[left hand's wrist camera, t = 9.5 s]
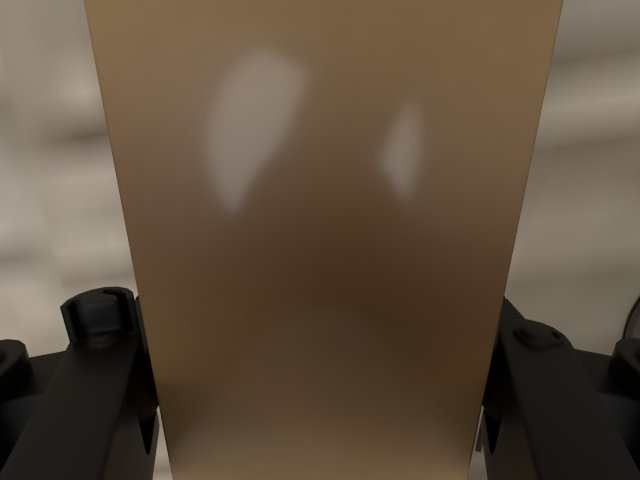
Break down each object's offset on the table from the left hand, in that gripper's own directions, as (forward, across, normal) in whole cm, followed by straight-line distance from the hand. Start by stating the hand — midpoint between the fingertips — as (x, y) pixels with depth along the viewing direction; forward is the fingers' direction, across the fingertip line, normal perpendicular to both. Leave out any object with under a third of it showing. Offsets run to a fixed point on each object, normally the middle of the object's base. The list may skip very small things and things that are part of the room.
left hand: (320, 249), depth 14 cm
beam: (0, 0, -19) cm, 19 cm away
